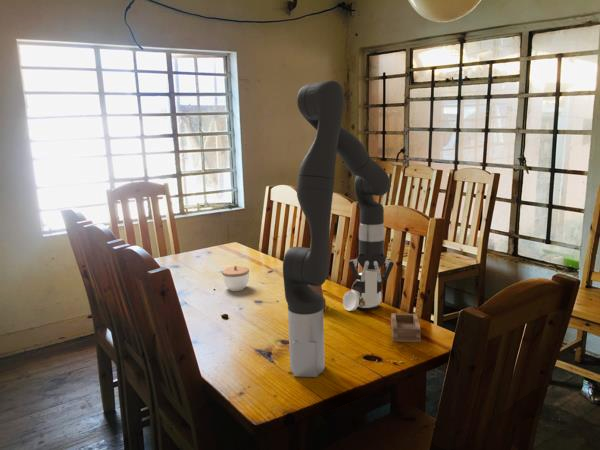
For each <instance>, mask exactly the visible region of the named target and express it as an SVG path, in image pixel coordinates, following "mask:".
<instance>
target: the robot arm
mask: <svg viewBox="0 0 600 450" xmlns="http://www.w3.org/2000/svg"><path fill="white" fill-rule="evenodd" d="M345 99H346V98H345V93H344V89H343V87H342V85H341V83H339V82H338V81H336V80H326V81H325V80H324V81H319V82H313V83H309V84H306V85H304V86H302V87H301V88H299V91H298V93H297V96H296V104H297V108H298V110H299V112H300V114H301V115H302V117H303V118H304V119H305V120H306V122H308V124H310V125H311V126H312V128H314V130H316V134H315V137H314V140H313V141H312V144H311V145H310V148H309V149H308V151H307V153H306V155H305V156H304V158H303V159H302V162H301V164H300V166H299V170H298V175H297V187H296V197H297V200H298V204H299V206H300V208H301V210H302V213H303V214H304V216H305V219H306V222H307V224H308V226H309V231H310V247H303V246H292V247H290V248H288V249H287V251H286V252H285V254H284V256H283V261H282V277H283V278H282V279H283V286H284V287H283V288H284V297H285V300H286V303H287V316H288V317H287V319H288V320H287V321H288V322H287V323H288V341H289V342H288V344H289V346H288V347H289V369H290V371H291V373H292V374H293V377H300V378H301V377H303V378H317V377H318V376H319V375H320V374H322V373H323V372H324V371H325V367H326V366H325V364H326V363H325V361H326V360H325V332H324V331H325V328H324V326H325V325H324V312H323V298H322V297H321V295H320V294H318V293H317V292H315V291H314V290H312V289H311V288H310V287H309V286H308V285H312V286H322V285H324V284H325V283H326V280H327V279H328V276H329V272H330V271H329V270H330V259H331V258H330V256H331V255H330V254H331V253H330V252H331V251H330V245H331V244H330V241H331V240H330V235H331V234H330V233H331V231H330V230H331V229H330V228H331V215H332V206H333V195H334V187H335V186H334V185H335V178H336V177H335V175H336V173H335V172H336V162H337V155H338V156H339V157H340V159H341V160H342V162H343V163H344V165H345V166H346V168H347V169H348V171H349V172H350V173H351V174H352V175H354V176H355V179H354V183H353V184H354V191H355V196H356V200H357V203H358V207H359V227H358V255H357V257H356V258H355V259H354V258H353V259H350V260H349V262H348V265H349V267H350V269H351V272H352V274H353V277H354V279H355V280H357V279H358V280H360V281H361V291H363V293H365V269H375V270H377V294H379V292H381V293H382V282H383V281H388V278H389V276H390V274H391V273H392V272H391V271H392V270H393V267H394V260H392V259H391V260H390V259H387V258H386V256H385V223H384V219H385V217H384V216H385V215H384V214H385V211H384V210H385V209H384V206H383V204H382V203H380V202H377V201H376V200H375V199H374V196H378V197H379V196H384V195H385V194H387V193H388V192H389V190H390V187H391V179H390V176H389V175H388V173H387V172H386V170H385V169H384V168H383V167H382V166H380V165H379V163H377V162H376V161H375V160H374V159H372V158H371V156H370V154H369V152H368V151H367V149H366V147H365V146H364V144H363V143H362V141H360V140H359V139H358V137H356V136H355V135H354V134H353V133H351V132H349V130H347V129H346V128H345V127H343V126H342V121H343V116H344V111H345ZM358 264H359V266H361V268H362V271H361V273H362V275H359V272H358V269H357V265H358ZM384 264H385V268H386V269H385V270H384V273H383V274H382V275H381V268H382V266H383V265H384Z"/></svg>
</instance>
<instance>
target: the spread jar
mask: <svg viewBox="0 0 600 450" xmlns="http://www.w3.org/2000/svg"><path fill="white" fill-rule="evenodd" d="M358 274H359V275H362V272H360V273H359V272H358ZM381 302H382V291H381V292H379V294H377V304H365V293H363V291H361V281H360V280H358V279H355V281H354V282H353V283H352V286H351V290H348V291H346V292H345V293H344V295H343V297H342V305H343V308H344V309H345V310H347V312H348V311H349V312H352V311H355V310H357V309H359V310H360V309H361V311H373V310H375V309H376V308H378V306H380V304H381Z"/></svg>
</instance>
